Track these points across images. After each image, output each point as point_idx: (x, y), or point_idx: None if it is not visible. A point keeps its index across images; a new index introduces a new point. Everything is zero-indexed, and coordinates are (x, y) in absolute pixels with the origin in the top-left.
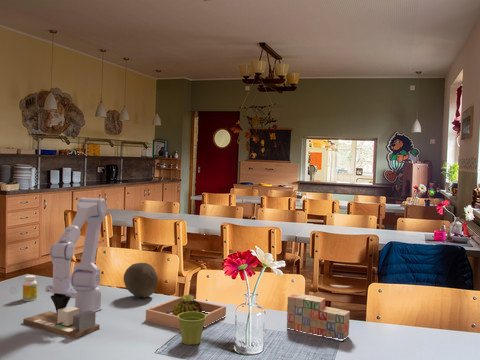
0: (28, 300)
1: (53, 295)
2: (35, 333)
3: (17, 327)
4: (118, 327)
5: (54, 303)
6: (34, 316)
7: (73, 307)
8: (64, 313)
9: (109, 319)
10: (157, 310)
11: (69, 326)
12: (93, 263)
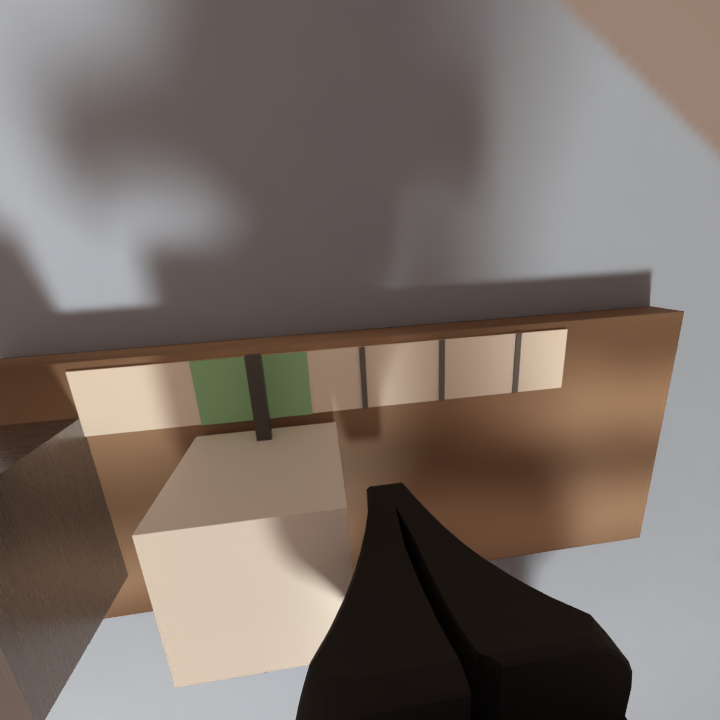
0: None
1: (600, 704)
2: (376, 222)
3: (615, 215)
4: None
5: (472, 563)
6: (647, 402)
7: (269, 661)
8: (211, 505)
9: (222, 712)
10: None
11: None
12: None
